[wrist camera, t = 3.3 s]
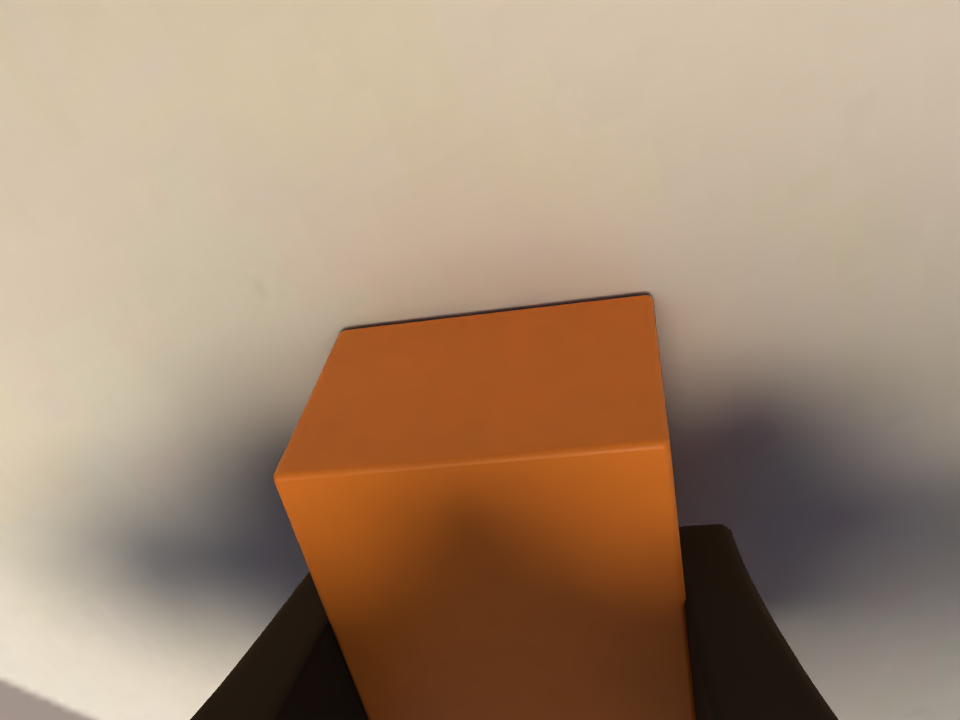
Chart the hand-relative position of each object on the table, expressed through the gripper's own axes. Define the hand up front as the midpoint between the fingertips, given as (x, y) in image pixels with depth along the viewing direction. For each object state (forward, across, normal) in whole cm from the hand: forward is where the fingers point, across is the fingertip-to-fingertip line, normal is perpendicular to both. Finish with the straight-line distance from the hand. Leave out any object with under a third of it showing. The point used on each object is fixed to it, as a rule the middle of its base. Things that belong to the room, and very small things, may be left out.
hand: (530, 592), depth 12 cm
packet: (+1, 0, 0) cm, 1 cm away
